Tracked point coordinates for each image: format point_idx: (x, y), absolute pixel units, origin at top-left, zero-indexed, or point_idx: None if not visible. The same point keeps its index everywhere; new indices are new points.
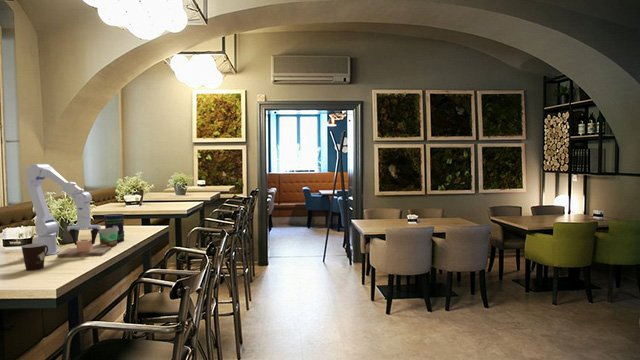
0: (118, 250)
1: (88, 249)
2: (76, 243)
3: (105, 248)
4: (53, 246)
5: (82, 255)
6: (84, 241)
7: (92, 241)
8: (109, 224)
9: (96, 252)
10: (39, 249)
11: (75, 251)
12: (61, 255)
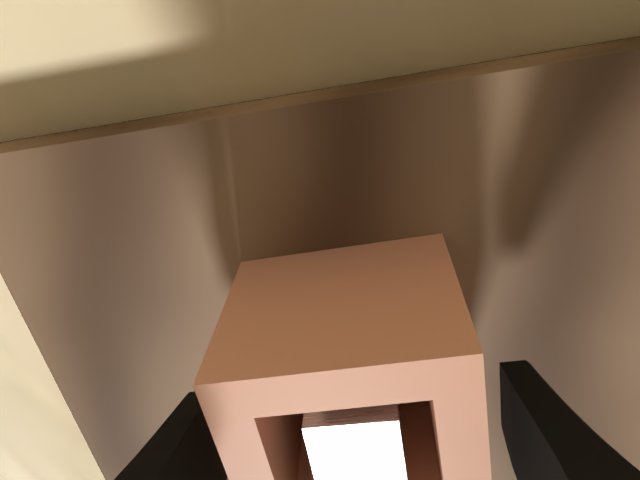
0: (2, 423)
1: (249, 277)
2: (508, 390)
3: (112, 417)
4: None
5: (280, 98)
6: (292, 370)
7: (174, 427)
8: None
9: (47, 155)
10: None
11: (482, 268)
12: None
